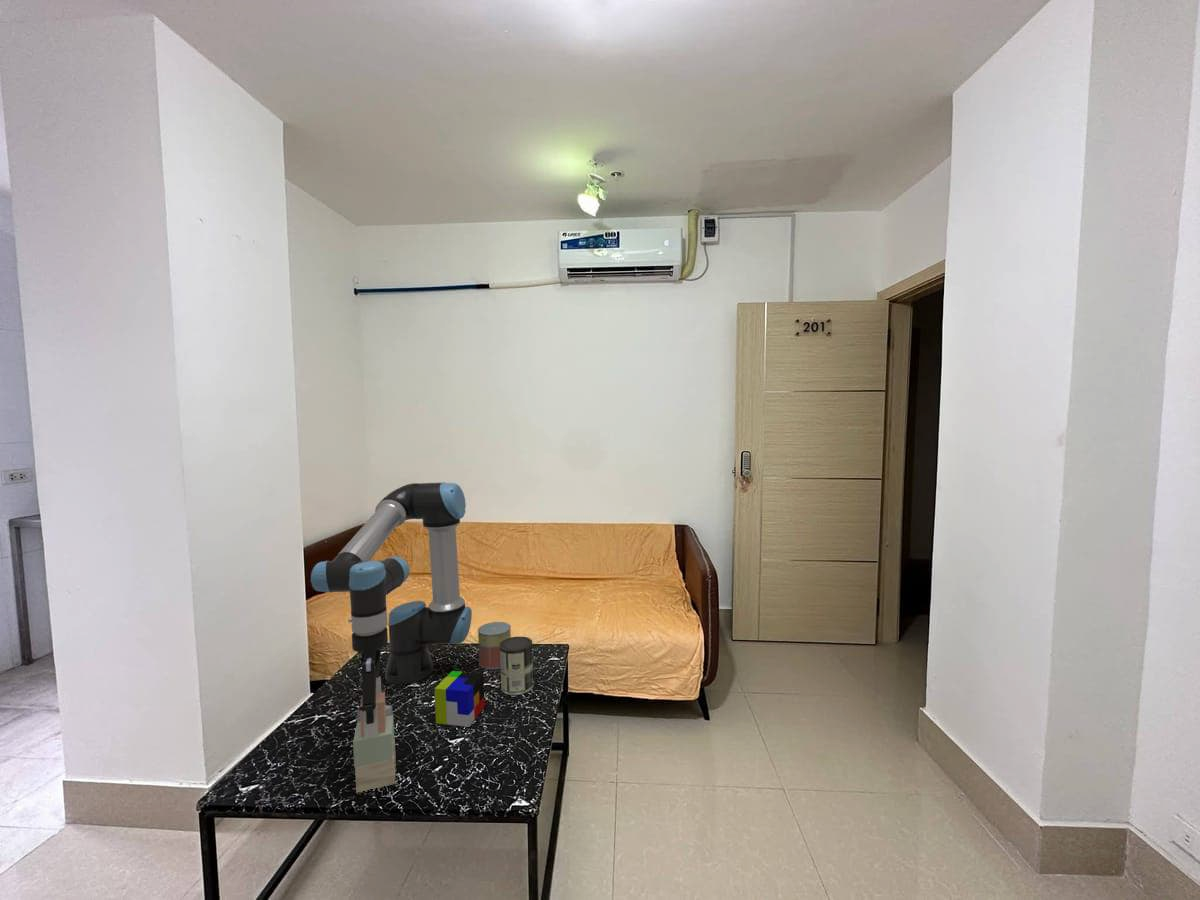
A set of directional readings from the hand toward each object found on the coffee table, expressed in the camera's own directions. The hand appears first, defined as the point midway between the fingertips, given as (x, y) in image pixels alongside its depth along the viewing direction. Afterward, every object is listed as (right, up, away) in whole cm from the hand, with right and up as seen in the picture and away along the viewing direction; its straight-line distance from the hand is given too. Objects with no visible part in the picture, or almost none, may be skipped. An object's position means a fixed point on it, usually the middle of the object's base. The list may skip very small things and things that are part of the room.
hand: (373, 718), depth 115 cm
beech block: (0, -14, +1) cm, 14 cm away
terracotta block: (0, -2, 0) cm, 2 cm away
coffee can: (+27, -12, +41) cm, 50 cm away
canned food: (+16, -12, +58) cm, 61 cm away
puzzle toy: (+13, -13, +26) cm, 32 cm away
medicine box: (-6, -14, +15) cm, 22 cm away
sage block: (0, -8, +1) cm, 8 cm away
